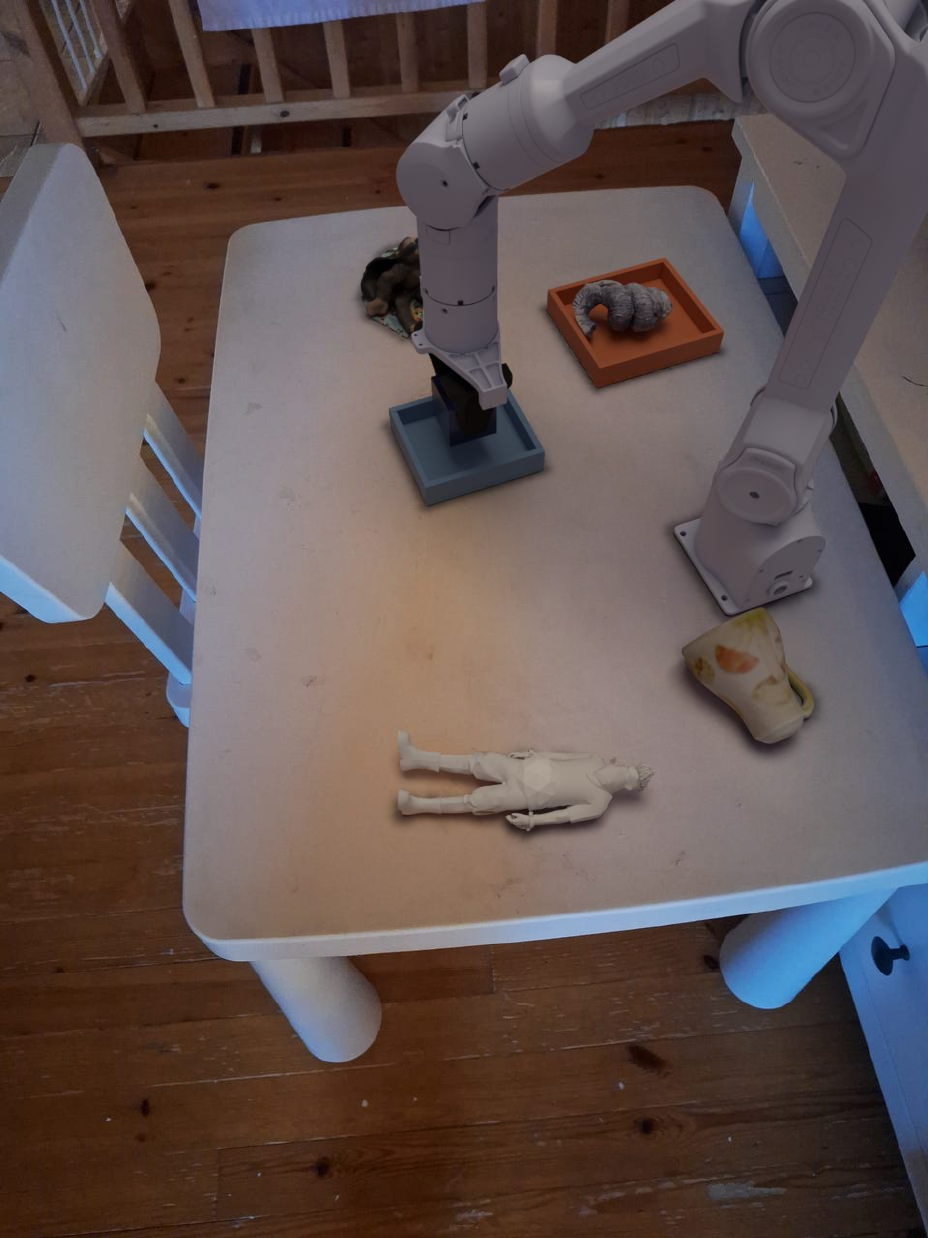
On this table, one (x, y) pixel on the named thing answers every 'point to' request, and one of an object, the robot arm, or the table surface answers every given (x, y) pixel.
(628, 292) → the grey curved piece
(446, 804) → the figurine
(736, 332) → the table surface
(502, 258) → the table surface
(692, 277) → the table surface
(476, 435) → the blue block
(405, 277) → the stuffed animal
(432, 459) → the blue tray
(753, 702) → the mug
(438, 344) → the robot arm
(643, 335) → the terracotta tray
